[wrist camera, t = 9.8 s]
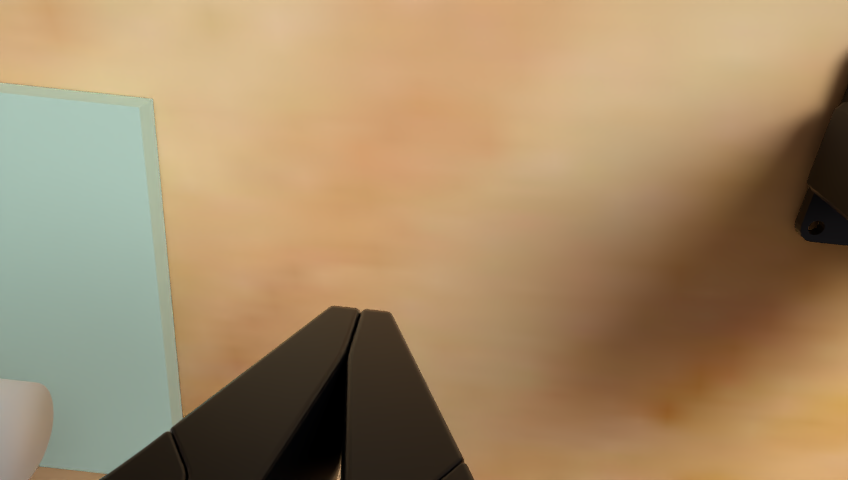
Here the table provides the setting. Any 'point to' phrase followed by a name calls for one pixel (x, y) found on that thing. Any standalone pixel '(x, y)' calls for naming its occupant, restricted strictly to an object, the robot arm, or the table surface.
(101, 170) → the pipe rig
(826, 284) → the table surface
